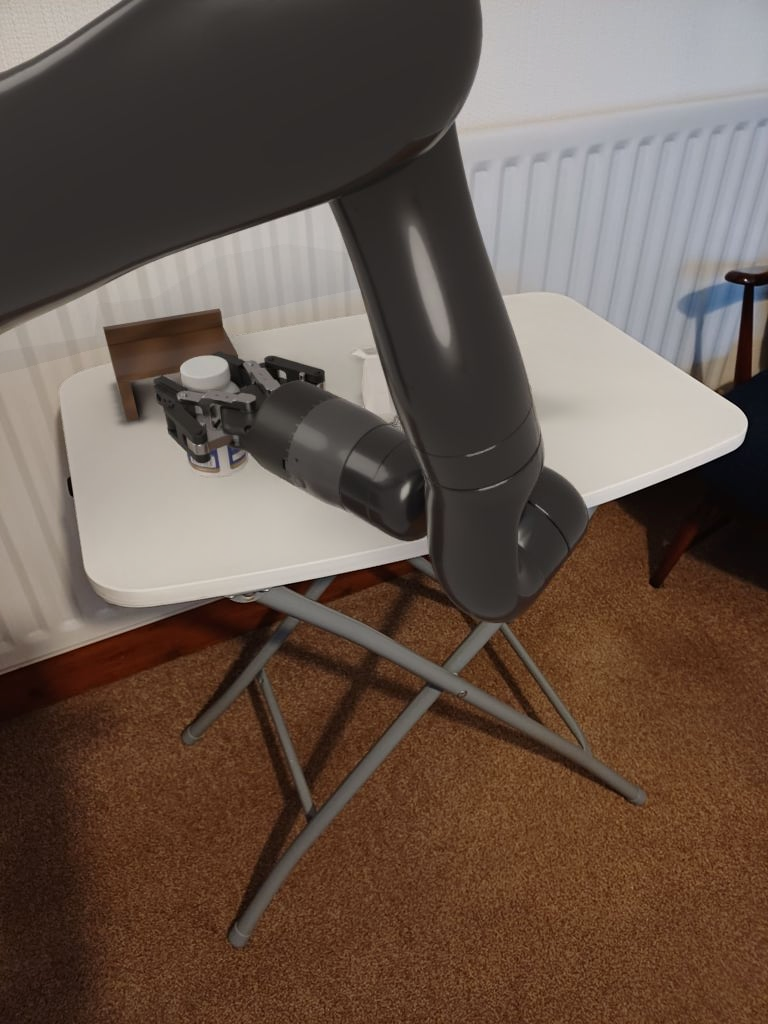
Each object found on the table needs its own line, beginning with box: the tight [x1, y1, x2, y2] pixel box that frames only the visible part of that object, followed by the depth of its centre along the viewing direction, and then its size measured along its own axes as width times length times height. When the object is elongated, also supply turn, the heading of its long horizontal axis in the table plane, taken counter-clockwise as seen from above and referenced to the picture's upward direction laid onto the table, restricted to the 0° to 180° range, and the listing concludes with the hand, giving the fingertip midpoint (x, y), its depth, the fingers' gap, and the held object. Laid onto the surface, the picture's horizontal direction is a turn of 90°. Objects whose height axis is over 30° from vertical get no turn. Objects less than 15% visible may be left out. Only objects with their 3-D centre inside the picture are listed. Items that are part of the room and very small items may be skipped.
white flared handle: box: [350, 346, 398, 424], centre depth 94 cm, size 6×18×4 cm, turn 4°
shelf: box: [102, 308, 244, 422], centre depth 94 cm, size 14×9×8 cm, turn 112°
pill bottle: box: [179, 356, 249, 479], centre depth 68 cm, size 5×5×10 cm
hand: (188, 374), depth 67 cm, fingers closed on pill bottle, 5 cm apart
